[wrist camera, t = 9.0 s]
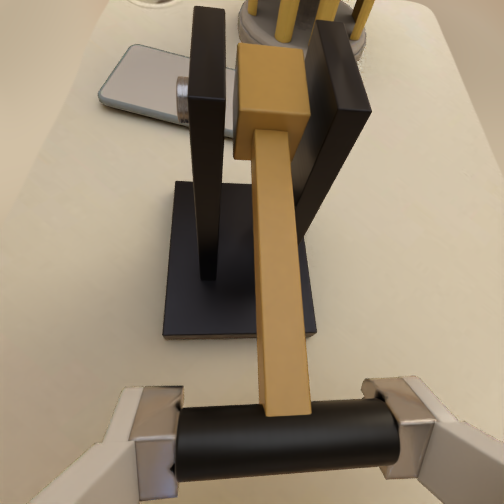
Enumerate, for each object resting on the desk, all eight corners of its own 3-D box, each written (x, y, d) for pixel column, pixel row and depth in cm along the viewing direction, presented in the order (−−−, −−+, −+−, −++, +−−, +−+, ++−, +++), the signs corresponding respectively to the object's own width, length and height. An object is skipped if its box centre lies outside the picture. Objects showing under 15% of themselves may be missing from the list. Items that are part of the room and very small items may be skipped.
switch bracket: (311, 336, 19) (485, 214, 7) (164, 340, 18) (74, 200, 6) (293, 195, 24) (377, -20, 12) (176, 190, 23) (140, -52, 11)
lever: (365, 450, 9) (421, 481, 6) (181, 463, 8) (170, 505, 6) (320, 107, 13) (344, 52, 10) (196, 97, 12) (192, 36, 10)
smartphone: (272, 142, 25) (92, 96, 25) (270, 151, 26) (96, 107, 26) (286, 81, 29) (131, 40, 29) (284, 91, 30) (133, 51, 30)
